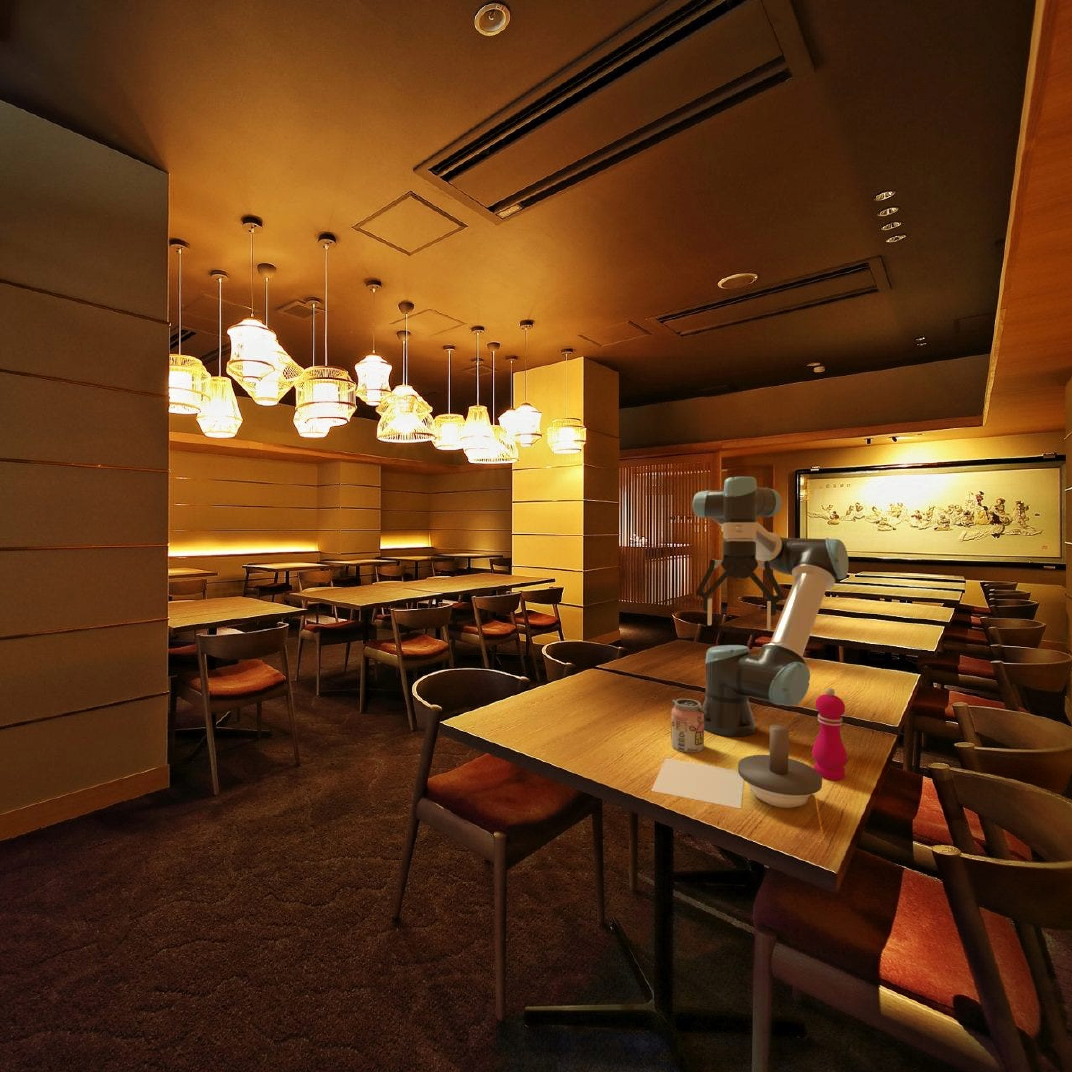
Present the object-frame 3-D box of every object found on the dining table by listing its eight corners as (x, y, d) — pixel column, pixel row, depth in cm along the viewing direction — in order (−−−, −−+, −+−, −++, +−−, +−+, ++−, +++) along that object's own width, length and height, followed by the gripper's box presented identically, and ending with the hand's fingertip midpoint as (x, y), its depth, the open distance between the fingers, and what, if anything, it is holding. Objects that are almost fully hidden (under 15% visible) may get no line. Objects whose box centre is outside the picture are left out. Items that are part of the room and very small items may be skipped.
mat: (665, 760, 132) (665, 758, 132) (744, 774, 125) (744, 771, 125) (650, 793, 115) (650, 790, 115) (740, 811, 108) (740, 808, 108)
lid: (739, 755, 123) (740, 710, 123) (818, 767, 117) (819, 721, 117) (735, 785, 108) (736, 735, 108) (825, 802, 102) (826, 748, 102)
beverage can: (680, 738, 146) (680, 694, 145) (711, 746, 140) (711, 701, 140) (665, 749, 138) (665, 703, 138) (696, 758, 133) (697, 710, 133)
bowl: (746, 781, 121) (746, 758, 121) (811, 792, 116) (811, 769, 116) (743, 808, 109) (744, 783, 109) (815, 822, 104) (816, 796, 104)
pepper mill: (835, 767, 128) (836, 683, 128) (854, 781, 121) (855, 693, 121) (805, 767, 128) (806, 683, 128) (822, 781, 121) (823, 693, 121)
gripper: (685, 539, 133) (684, 625, 134) (796, 541, 124) (795, 633, 124) (689, 539, 140) (688, 620, 141) (795, 540, 130) (794, 628, 131)
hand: (738, 626), depth 132 cm, fingers open, 13 cm apart
